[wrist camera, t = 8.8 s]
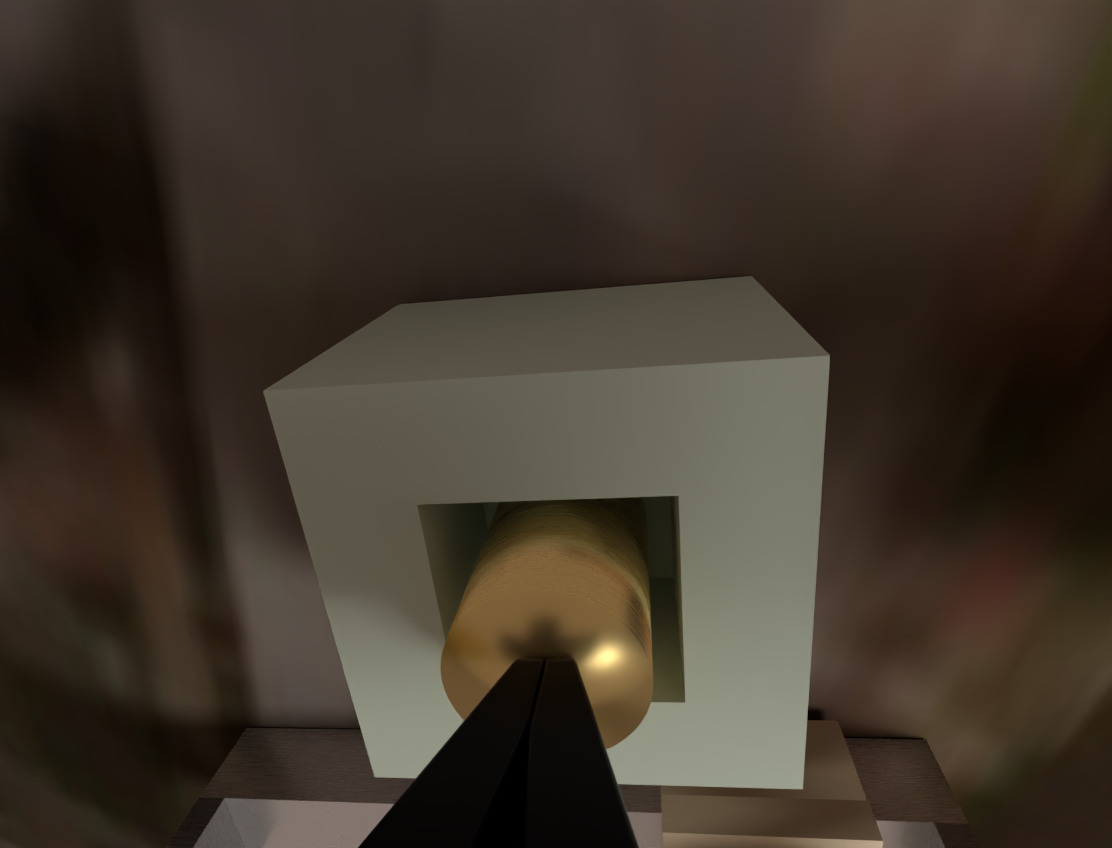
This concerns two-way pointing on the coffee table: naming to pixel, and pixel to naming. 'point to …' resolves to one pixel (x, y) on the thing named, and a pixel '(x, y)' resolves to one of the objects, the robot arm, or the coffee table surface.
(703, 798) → the carriage
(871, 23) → the coffee table surface
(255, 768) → the rail
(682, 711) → the cabinet
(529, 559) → the button
